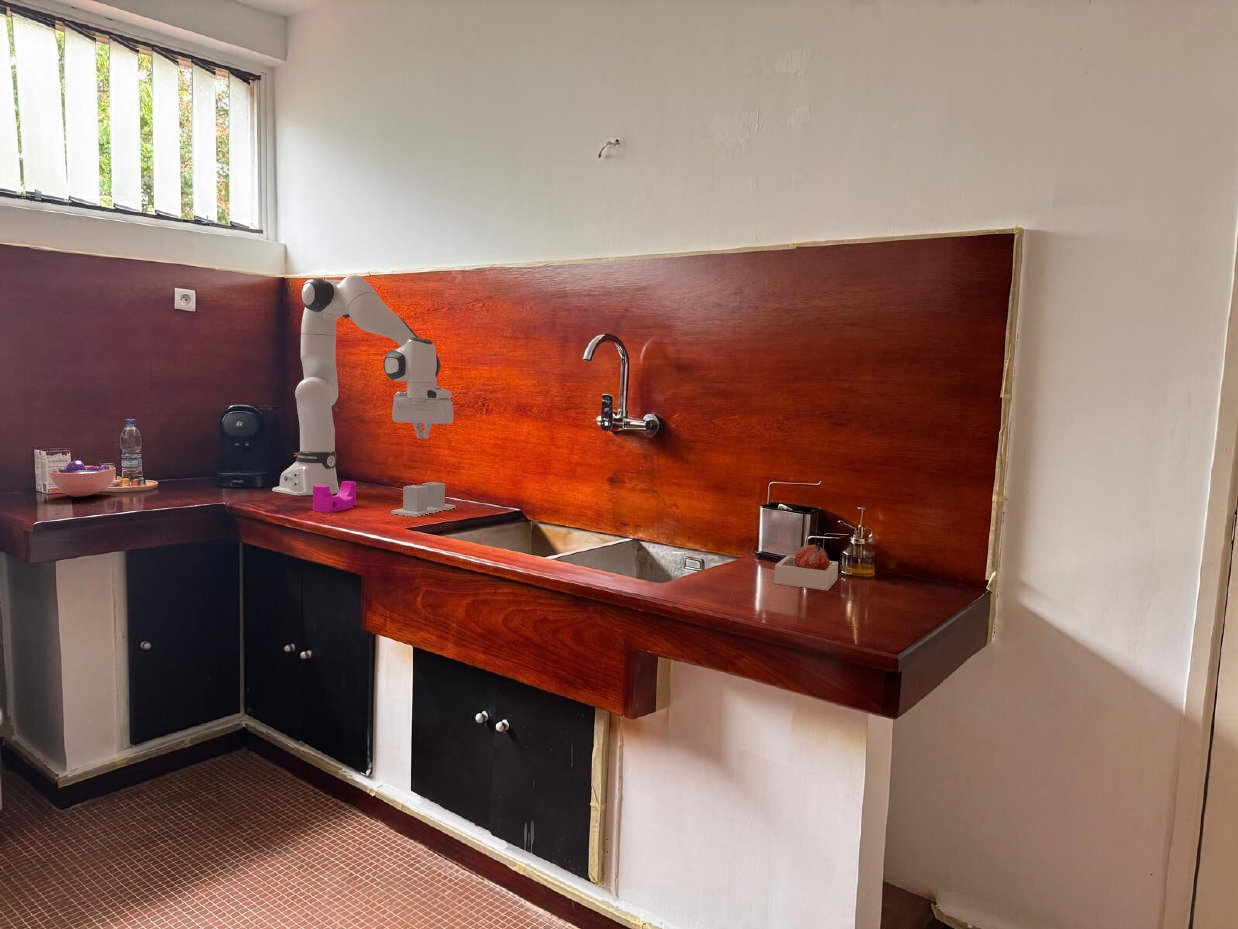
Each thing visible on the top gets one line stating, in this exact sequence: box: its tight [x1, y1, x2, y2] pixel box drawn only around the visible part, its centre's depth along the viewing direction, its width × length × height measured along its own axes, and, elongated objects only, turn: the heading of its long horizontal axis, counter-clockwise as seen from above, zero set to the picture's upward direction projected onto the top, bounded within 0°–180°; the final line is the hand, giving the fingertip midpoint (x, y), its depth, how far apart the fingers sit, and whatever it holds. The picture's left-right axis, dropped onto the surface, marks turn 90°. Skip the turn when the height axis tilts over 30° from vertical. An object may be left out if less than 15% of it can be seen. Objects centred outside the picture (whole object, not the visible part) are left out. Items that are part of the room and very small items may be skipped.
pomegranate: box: [794, 542, 830, 570], centre depth 189 cm, size 7×7×10 cm
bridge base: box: [390, 481, 457, 518], centre depth 264 cm, size 9×20×8 cm, turn 156°
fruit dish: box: [773, 555, 839, 591], centre depth 191 cm, size 12×12×4 cm
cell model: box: [48, 460, 116, 498], centre depth 271 cm, size 17×20×11 cm
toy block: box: [312, 480, 357, 514], centre depth 265 cm, size 15×6×8 cm, turn 159°
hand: (422, 438), depth 263 cm, fingers closed
